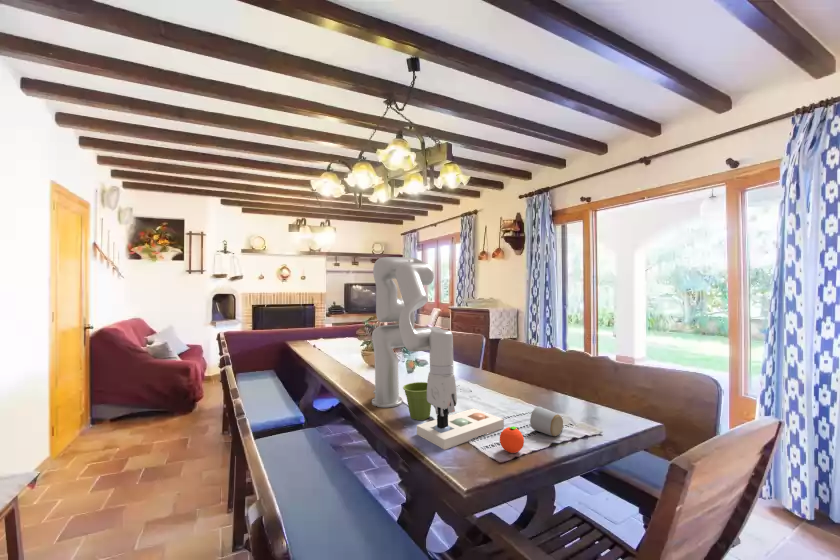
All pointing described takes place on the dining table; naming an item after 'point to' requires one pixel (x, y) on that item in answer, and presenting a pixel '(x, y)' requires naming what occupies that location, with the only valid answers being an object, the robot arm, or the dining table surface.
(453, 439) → the console
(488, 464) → the dining table surface
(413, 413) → the plant pot
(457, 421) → the green button
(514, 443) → the clementine
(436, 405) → the robot arm
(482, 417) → the terracotta button
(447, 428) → the blue button
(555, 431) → the grey canister
